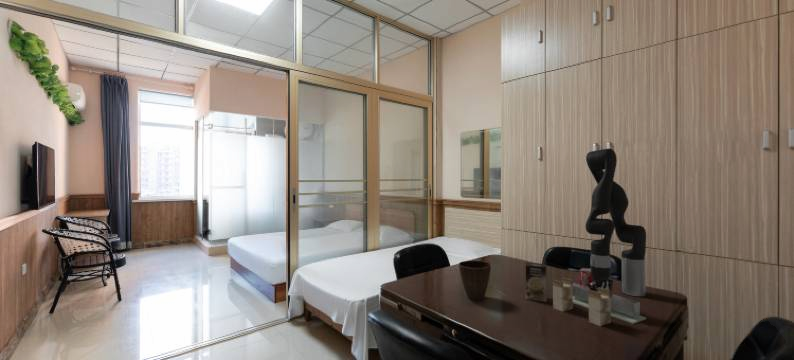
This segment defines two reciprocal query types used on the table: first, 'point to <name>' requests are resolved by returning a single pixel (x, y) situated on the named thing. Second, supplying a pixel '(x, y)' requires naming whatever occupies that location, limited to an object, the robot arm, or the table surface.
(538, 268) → the coffee box
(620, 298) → the rail
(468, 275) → the plant pot
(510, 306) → the table surface
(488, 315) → the table surface
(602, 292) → the post
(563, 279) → the post
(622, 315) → the felt mat
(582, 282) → the soda can
